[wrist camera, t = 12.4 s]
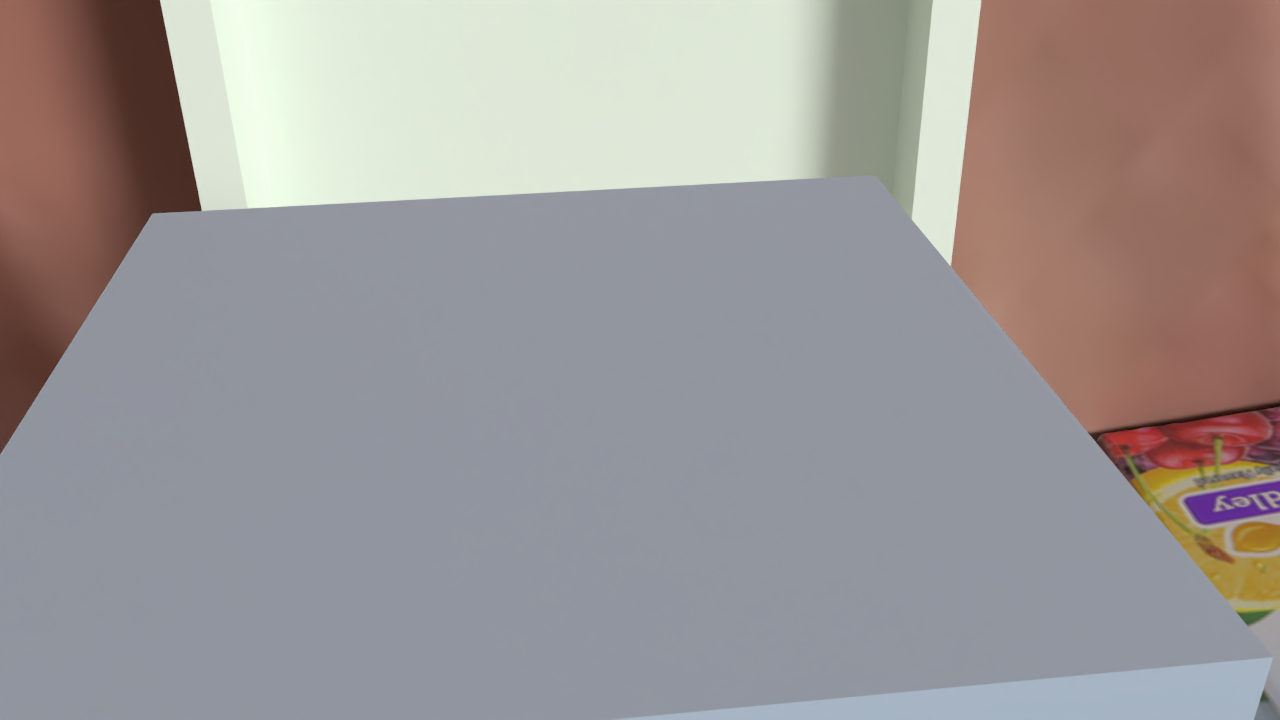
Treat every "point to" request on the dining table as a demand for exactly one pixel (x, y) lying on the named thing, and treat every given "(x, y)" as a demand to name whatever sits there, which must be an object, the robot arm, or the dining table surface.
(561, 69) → the tray
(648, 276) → the slate block
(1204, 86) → the dining table surface
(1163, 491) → the snack box
